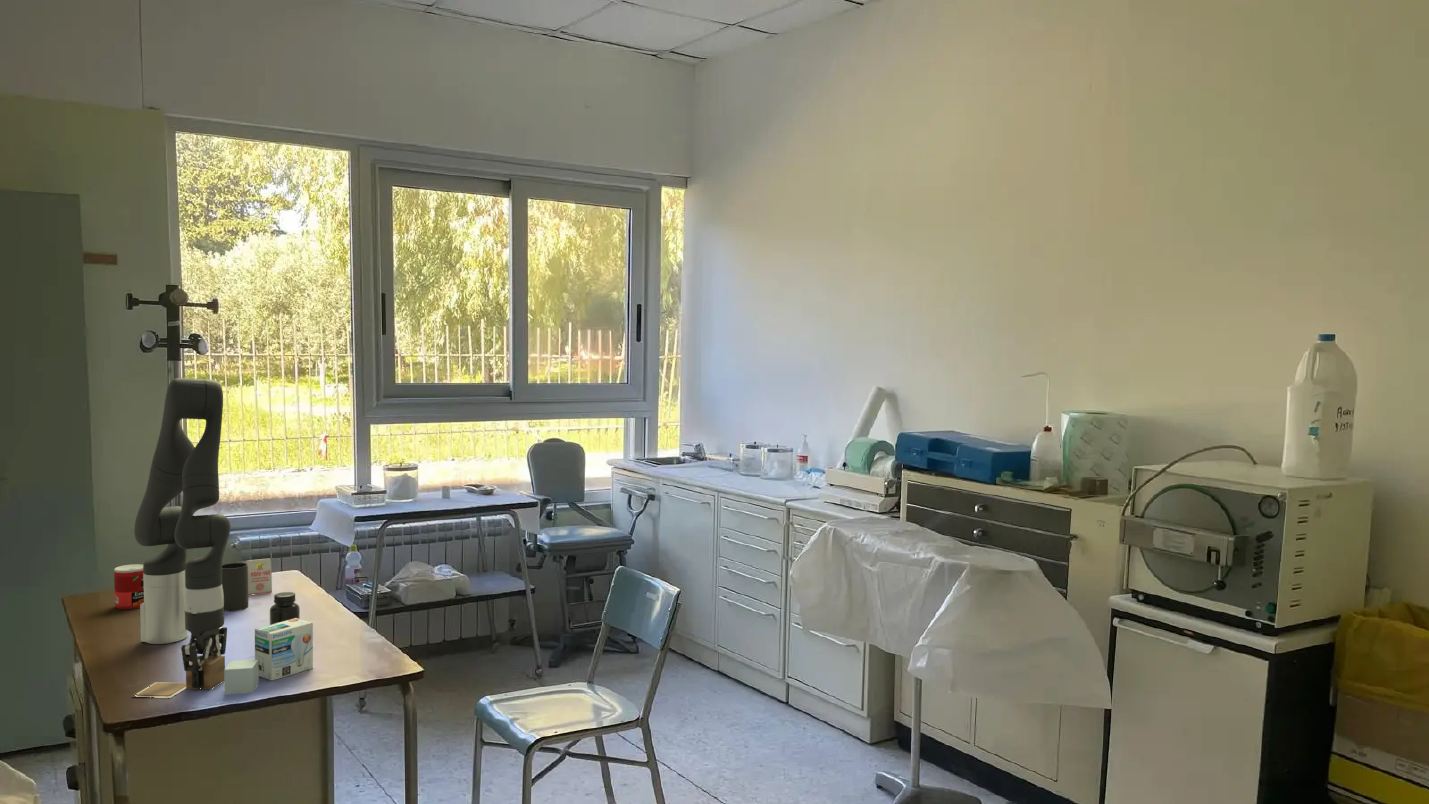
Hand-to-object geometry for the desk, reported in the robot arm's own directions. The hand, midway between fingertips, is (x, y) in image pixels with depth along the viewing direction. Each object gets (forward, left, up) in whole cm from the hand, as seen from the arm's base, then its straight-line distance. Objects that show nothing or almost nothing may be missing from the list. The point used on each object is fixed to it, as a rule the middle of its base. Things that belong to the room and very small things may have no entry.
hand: (205, 682), depth 204 cm
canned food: (-54, +58, -1) cm, 79 cm away
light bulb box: (+13, +9, -1) cm, 16 cm away
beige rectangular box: (-26, +74, -1) cm, 78 cm away
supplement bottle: (+3, +30, -1) cm, 30 cm away
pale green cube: (+9, -2, -1) cm, 9 cm away
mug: (-26, +57, -1) cm, 63 cm away
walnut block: (0, 0, -1) cm, 1 cm away
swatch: (-7, -4, -1) cm, 8 cm away
